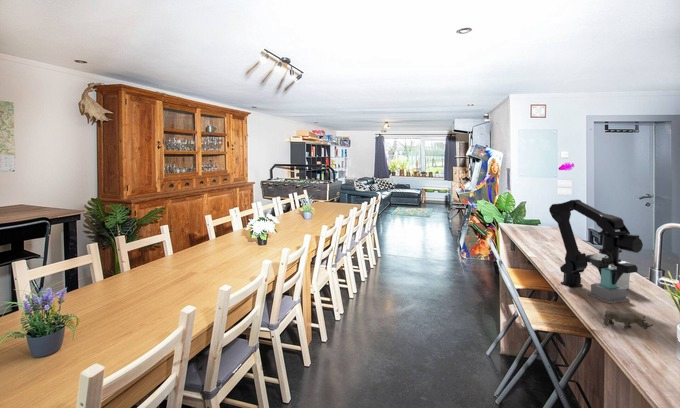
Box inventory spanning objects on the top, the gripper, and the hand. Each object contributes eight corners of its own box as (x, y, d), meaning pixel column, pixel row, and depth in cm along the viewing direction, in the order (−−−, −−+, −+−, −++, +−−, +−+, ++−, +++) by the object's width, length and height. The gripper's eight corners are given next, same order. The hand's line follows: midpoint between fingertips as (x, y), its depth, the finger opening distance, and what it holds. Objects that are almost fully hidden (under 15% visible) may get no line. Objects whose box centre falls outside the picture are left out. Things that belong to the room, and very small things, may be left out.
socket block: (587, 294, 157) (588, 283, 156) (605, 292, 159) (606, 281, 158) (610, 303, 147) (610, 291, 146) (628, 300, 149) (629, 288, 149)
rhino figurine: (653, 335, 121) (654, 318, 120) (602, 325, 129) (603, 309, 128) (652, 330, 124) (653, 314, 123) (603, 321, 132) (604, 305, 132)
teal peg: (599, 290, 154) (601, 268, 153) (607, 289, 155) (608, 267, 154) (608, 294, 150) (610, 271, 149) (616, 293, 151) (617, 270, 150)
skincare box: (620, 285, 166) (622, 260, 164) (629, 289, 161) (631, 262, 160) (608, 286, 165) (610, 261, 164) (617, 290, 161) (618, 263, 159)
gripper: (575, 243, 157) (574, 278, 159) (617, 254, 139) (615, 292, 141) (596, 241, 160) (594, 275, 162) (639, 251, 142) (637, 289, 144)
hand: (608, 282), depth 152 cm, fingers closed on teal peg, 4 cm apart
